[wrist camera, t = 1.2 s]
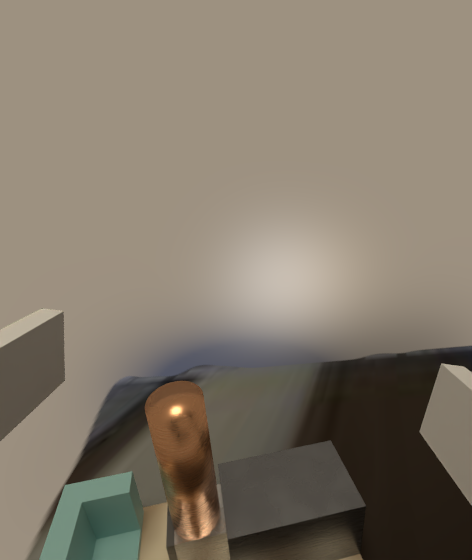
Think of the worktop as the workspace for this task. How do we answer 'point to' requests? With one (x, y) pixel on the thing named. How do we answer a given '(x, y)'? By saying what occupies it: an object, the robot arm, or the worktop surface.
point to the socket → (97, 521)
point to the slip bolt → (187, 473)
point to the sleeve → (292, 506)
